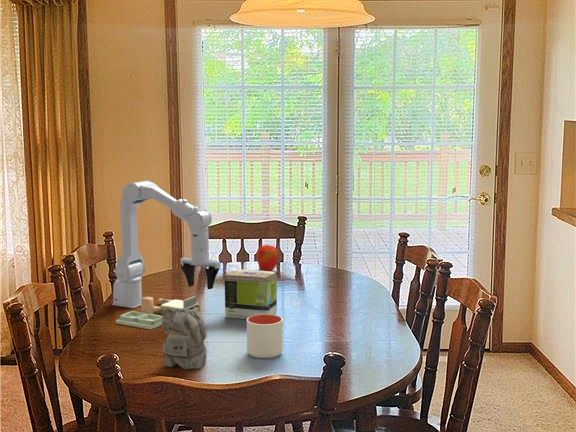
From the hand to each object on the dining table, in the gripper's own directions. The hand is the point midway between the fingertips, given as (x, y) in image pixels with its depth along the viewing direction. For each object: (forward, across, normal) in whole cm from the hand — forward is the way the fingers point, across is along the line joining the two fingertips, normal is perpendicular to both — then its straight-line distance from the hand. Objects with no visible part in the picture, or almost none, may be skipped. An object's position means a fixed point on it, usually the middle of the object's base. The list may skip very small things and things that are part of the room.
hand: (200, 287), depth 229 cm
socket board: (+9, -12, -16) cm, 22 cm away
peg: (+10, -15, -9) cm, 20 cm away
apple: (+10, -12, +67) cm, 69 cm away
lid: (+7, -9, 0) cm, 11 cm away
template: (+9, -12, 0) cm, 15 cm away
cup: (+10, +37, -23) cm, 45 cm away
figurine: (+10, +22, -40) cm, 47 cm away
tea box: (+10, +15, +7) cm, 19 cm away
